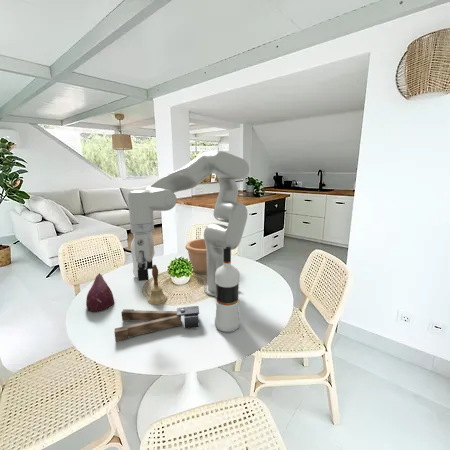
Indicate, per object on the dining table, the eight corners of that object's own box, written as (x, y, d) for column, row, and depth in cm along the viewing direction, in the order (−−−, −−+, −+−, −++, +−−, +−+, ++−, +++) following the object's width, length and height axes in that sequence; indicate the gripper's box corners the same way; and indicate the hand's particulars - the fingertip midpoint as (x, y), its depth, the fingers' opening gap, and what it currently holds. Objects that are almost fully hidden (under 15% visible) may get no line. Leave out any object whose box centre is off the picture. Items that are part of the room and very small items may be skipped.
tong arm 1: (180, 322, 93) (179, 314, 92) (181, 326, 91) (181, 317, 90) (115, 337, 85) (114, 328, 84) (115, 341, 83) (114, 332, 83)
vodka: (215, 334, 87) (214, 252, 80) (214, 318, 96) (212, 243, 89) (241, 332, 88) (242, 251, 81) (238, 316, 97) (238, 242, 90)
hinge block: (198, 315, 98) (198, 302, 96) (199, 327, 91) (199, 313, 90) (177, 318, 97) (177, 304, 95) (177, 329, 90) (176, 315, 89)
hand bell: (143, 301, 108) (140, 267, 104) (156, 293, 115) (153, 260, 112) (158, 306, 105) (155, 270, 101) (171, 297, 112) (169, 263, 108)
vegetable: (96, 306, 111) (92, 272, 111) (119, 303, 110) (115, 269, 110) (81, 314, 100) (76, 277, 101) (106, 311, 100) (101, 274, 100)
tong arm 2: (181, 318, 96) (181, 310, 95) (180, 321, 94) (179, 313, 93) (124, 317, 97) (123, 309, 96) (122, 320, 95) (121, 312, 94)
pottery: (229, 273, 136) (229, 248, 132) (188, 278, 131) (187, 251, 128) (220, 259, 156) (220, 237, 153) (184, 262, 151) (183, 239, 148)
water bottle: (150, 275, 134) (147, 229, 129) (139, 280, 128) (135, 232, 123) (141, 272, 138) (137, 228, 132) (130, 277, 132) (125, 231, 126)
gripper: (149, 233, 77) (153, 284, 81) (157, 221, 94) (159, 264, 98) (124, 234, 76) (129, 286, 80) (136, 222, 93) (139, 265, 97)
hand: (146, 274), depth 89 cm, fingers open, 9 cm apart
